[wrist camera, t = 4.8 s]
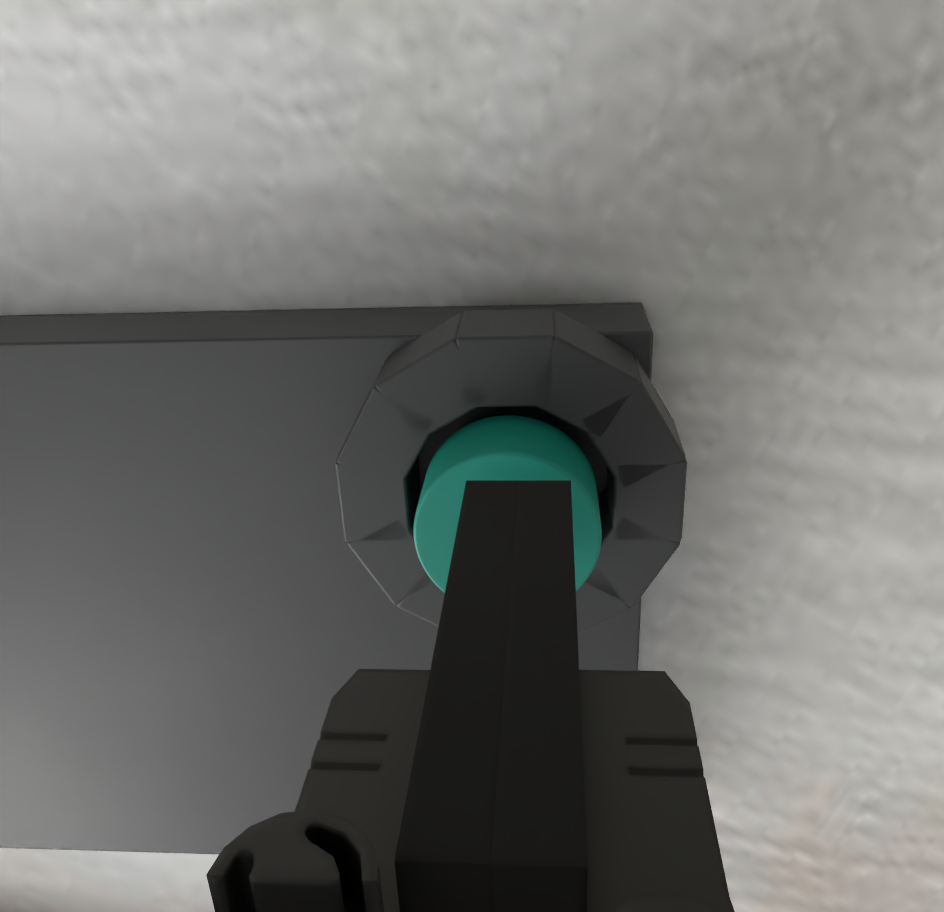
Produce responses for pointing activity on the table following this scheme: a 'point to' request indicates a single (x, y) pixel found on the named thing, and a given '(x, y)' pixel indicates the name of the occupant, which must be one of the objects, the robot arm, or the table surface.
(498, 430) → the button
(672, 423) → the grey button box
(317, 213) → the table surface
